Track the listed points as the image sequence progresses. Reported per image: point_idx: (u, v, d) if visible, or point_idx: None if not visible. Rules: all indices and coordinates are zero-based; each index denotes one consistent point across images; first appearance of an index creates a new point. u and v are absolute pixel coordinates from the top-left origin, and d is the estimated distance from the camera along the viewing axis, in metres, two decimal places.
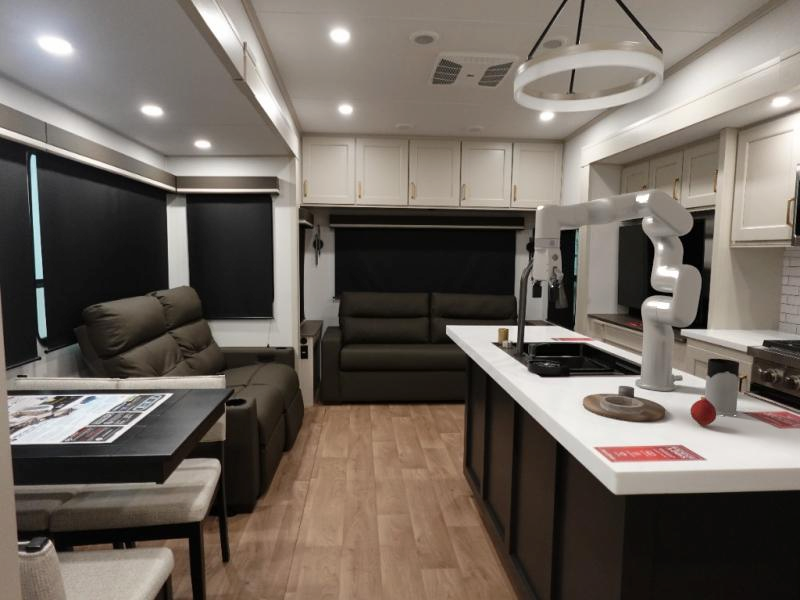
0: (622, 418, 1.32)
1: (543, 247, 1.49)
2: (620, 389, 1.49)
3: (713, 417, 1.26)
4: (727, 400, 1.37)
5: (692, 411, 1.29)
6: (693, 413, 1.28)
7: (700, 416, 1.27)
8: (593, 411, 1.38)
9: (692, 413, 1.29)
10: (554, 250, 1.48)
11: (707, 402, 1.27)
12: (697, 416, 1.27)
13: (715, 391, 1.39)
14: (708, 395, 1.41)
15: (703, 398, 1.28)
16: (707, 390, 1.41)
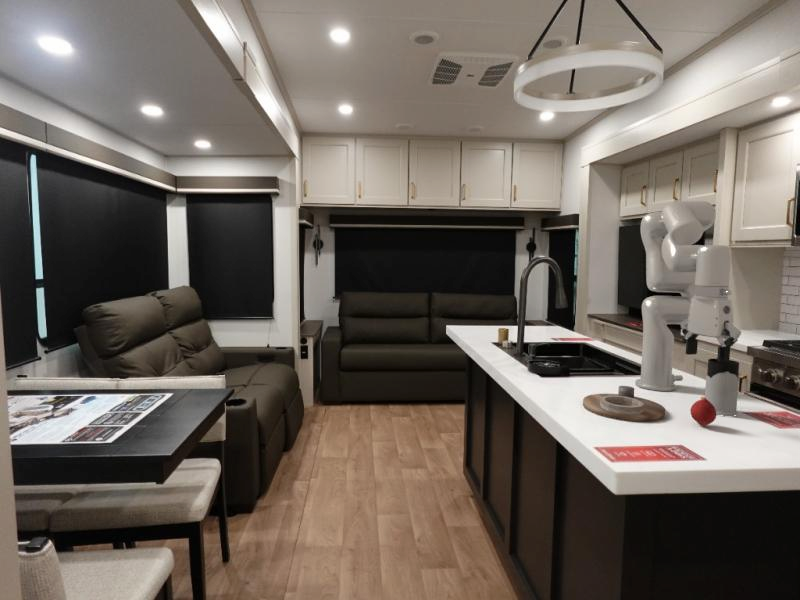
0: (622, 418, 1.32)
1: (710, 297, 1.23)
2: (620, 389, 1.49)
3: (713, 417, 1.26)
4: (727, 400, 1.37)
5: (692, 411, 1.29)
6: (693, 413, 1.28)
7: (700, 416, 1.27)
8: (593, 411, 1.38)
9: (692, 413, 1.29)
10: (725, 301, 1.22)
11: (707, 402, 1.27)
12: (697, 416, 1.27)
13: (715, 392, 1.39)
14: (708, 395, 1.41)
15: (703, 398, 1.28)
16: (707, 390, 1.41)
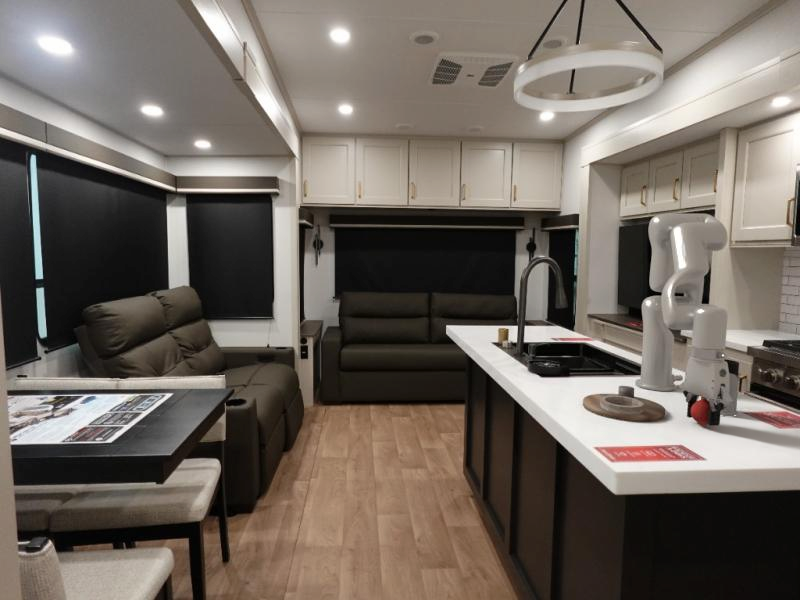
0: (622, 418, 1.32)
1: (707, 359, 1.24)
2: (620, 389, 1.49)
3: None
4: None
5: (692, 411, 1.29)
6: (693, 413, 1.28)
7: (700, 416, 1.27)
8: (593, 411, 1.38)
9: (692, 413, 1.29)
10: (721, 364, 1.23)
11: (707, 402, 1.27)
12: (697, 416, 1.27)
13: None
14: None
15: (703, 398, 1.28)
16: None
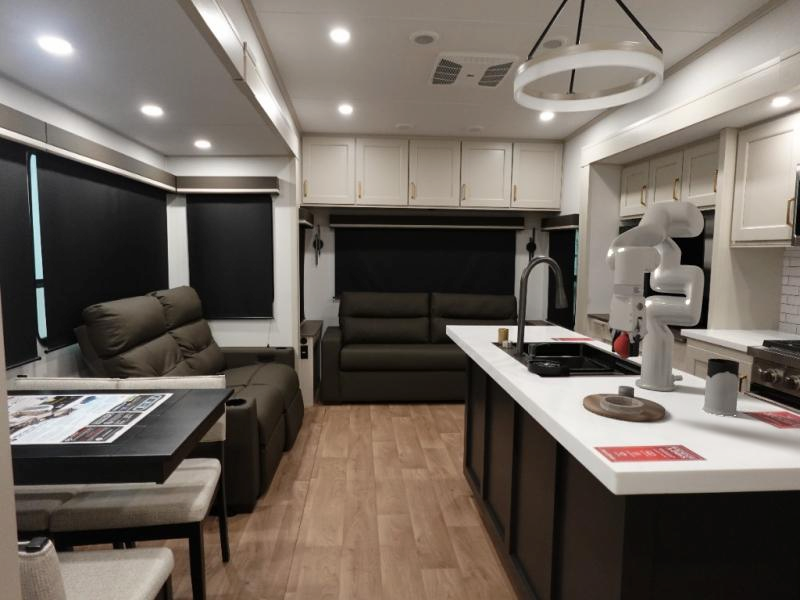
0: (622, 418, 1.32)
1: (626, 295, 1.33)
2: (620, 389, 1.49)
3: None
4: (727, 400, 1.37)
5: (614, 345, 1.37)
6: (615, 346, 1.37)
7: (621, 349, 1.35)
8: (593, 411, 1.38)
9: (614, 347, 1.37)
10: (639, 298, 1.31)
11: (628, 336, 1.36)
12: (618, 349, 1.36)
13: (715, 392, 1.39)
14: (708, 395, 1.41)
15: (624, 332, 1.36)
16: (707, 390, 1.41)
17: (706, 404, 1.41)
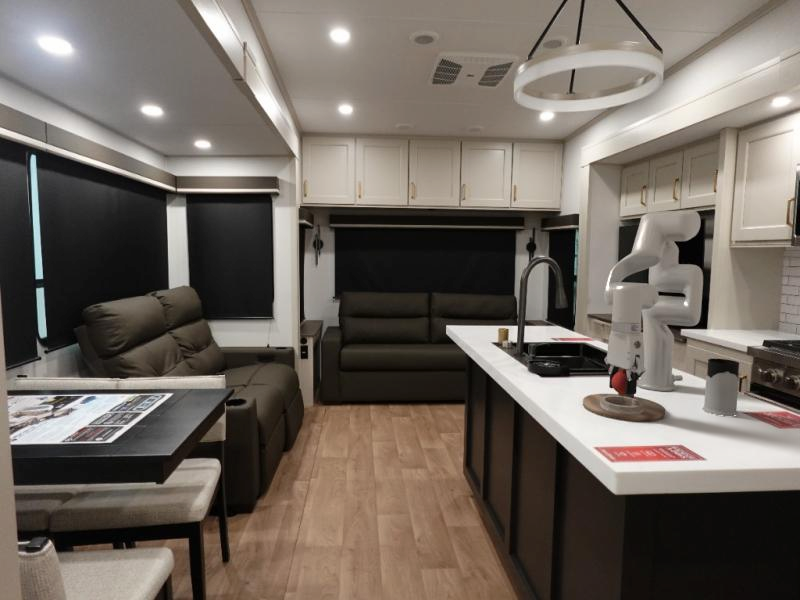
0: (622, 418, 1.32)
1: (623, 332, 1.34)
2: None
3: None
4: (727, 400, 1.37)
5: (612, 381, 1.38)
6: (613, 383, 1.38)
7: (618, 385, 1.36)
8: (593, 411, 1.38)
9: (612, 383, 1.38)
10: (636, 336, 1.32)
11: (625, 373, 1.37)
12: (616, 386, 1.37)
13: (715, 392, 1.39)
14: (708, 395, 1.41)
15: (622, 369, 1.37)
16: (707, 390, 1.41)
17: (706, 404, 1.41)
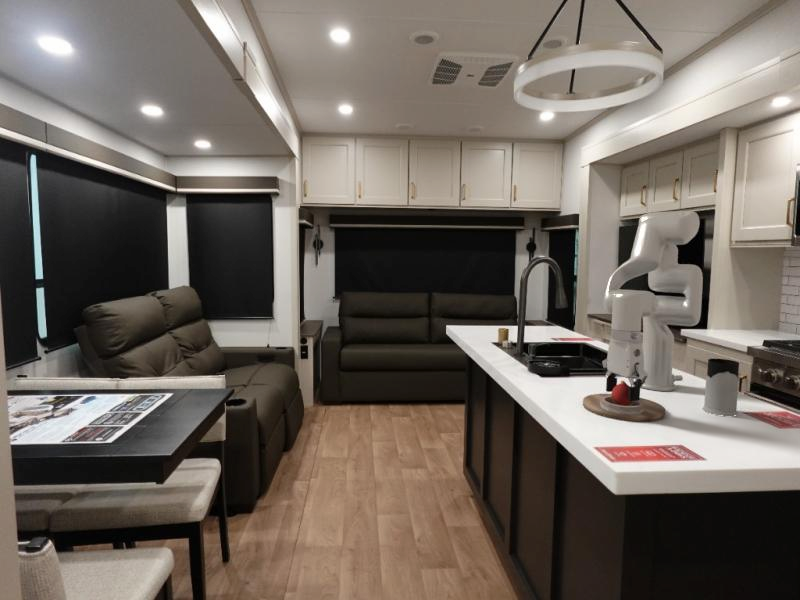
0: (622, 418, 1.32)
1: (623, 340, 1.34)
2: None
3: None
4: (727, 400, 1.37)
5: (612, 394, 1.38)
6: (612, 395, 1.38)
7: (618, 399, 1.36)
8: (593, 411, 1.38)
9: (612, 396, 1.38)
10: (636, 344, 1.33)
11: (625, 386, 1.37)
12: (615, 398, 1.37)
13: (715, 392, 1.39)
14: (708, 395, 1.41)
15: (622, 382, 1.37)
16: (707, 390, 1.41)
17: (706, 404, 1.41)
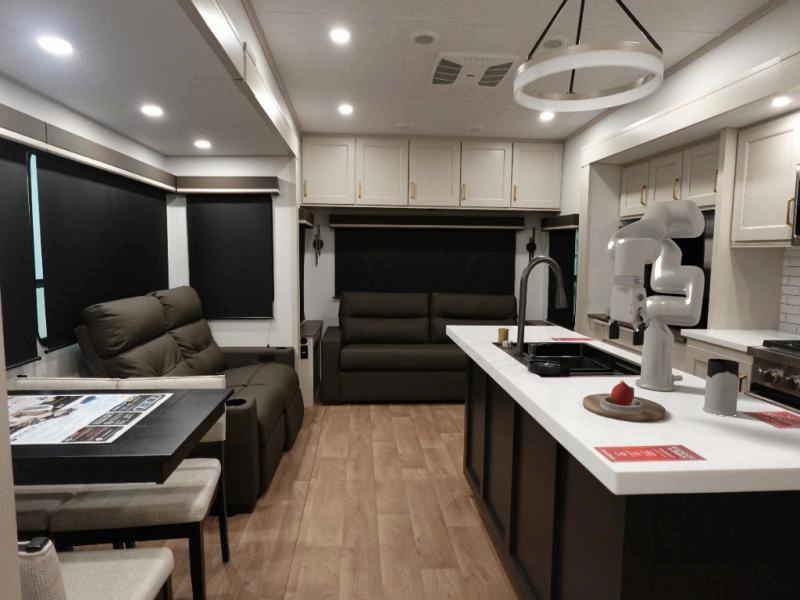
0: (622, 418, 1.32)
1: (626, 286, 1.33)
2: None
3: (630, 399, 1.36)
4: (727, 400, 1.37)
5: (612, 394, 1.39)
6: (612, 395, 1.38)
7: (618, 398, 1.37)
8: (593, 411, 1.38)
9: (612, 396, 1.39)
10: (639, 289, 1.32)
11: (625, 385, 1.37)
12: (615, 398, 1.37)
13: (715, 392, 1.39)
14: (708, 395, 1.41)
15: (621, 382, 1.38)
16: (707, 390, 1.41)
17: (706, 404, 1.41)
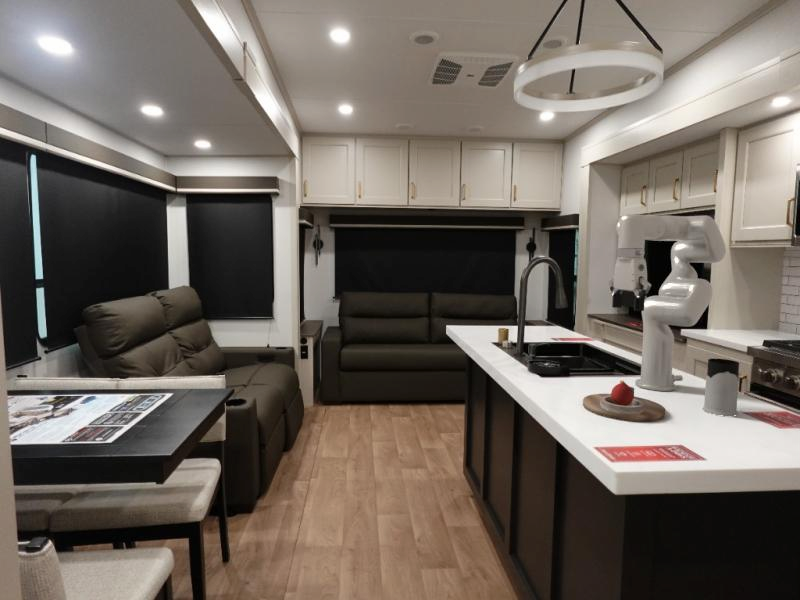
0: (622, 418, 1.32)
1: (628, 257, 1.48)
2: None
3: (630, 399, 1.36)
4: (727, 400, 1.37)
5: (612, 394, 1.39)
6: (612, 395, 1.38)
7: (618, 398, 1.37)
8: (593, 411, 1.38)
9: (612, 396, 1.39)
10: (640, 260, 1.47)
11: (625, 385, 1.37)
12: (615, 398, 1.37)
13: (715, 392, 1.39)
14: (708, 395, 1.41)
15: (621, 382, 1.38)
16: (707, 390, 1.41)
17: (706, 404, 1.41)
